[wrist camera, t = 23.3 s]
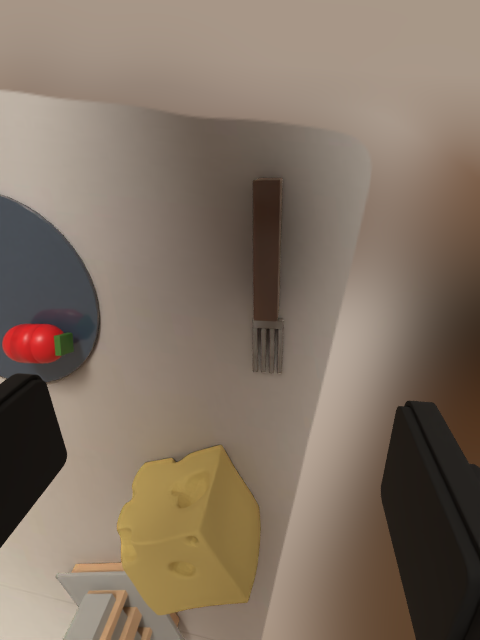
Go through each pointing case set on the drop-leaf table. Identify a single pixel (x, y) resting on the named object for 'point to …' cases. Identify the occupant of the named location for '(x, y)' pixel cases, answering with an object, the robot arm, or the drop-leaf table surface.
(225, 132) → the drop-leaf table surface
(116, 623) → the desk lamp
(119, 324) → the drop-leaf table surface
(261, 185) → the fork
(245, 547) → the cheese
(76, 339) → the plate
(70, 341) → the red toy pepper
